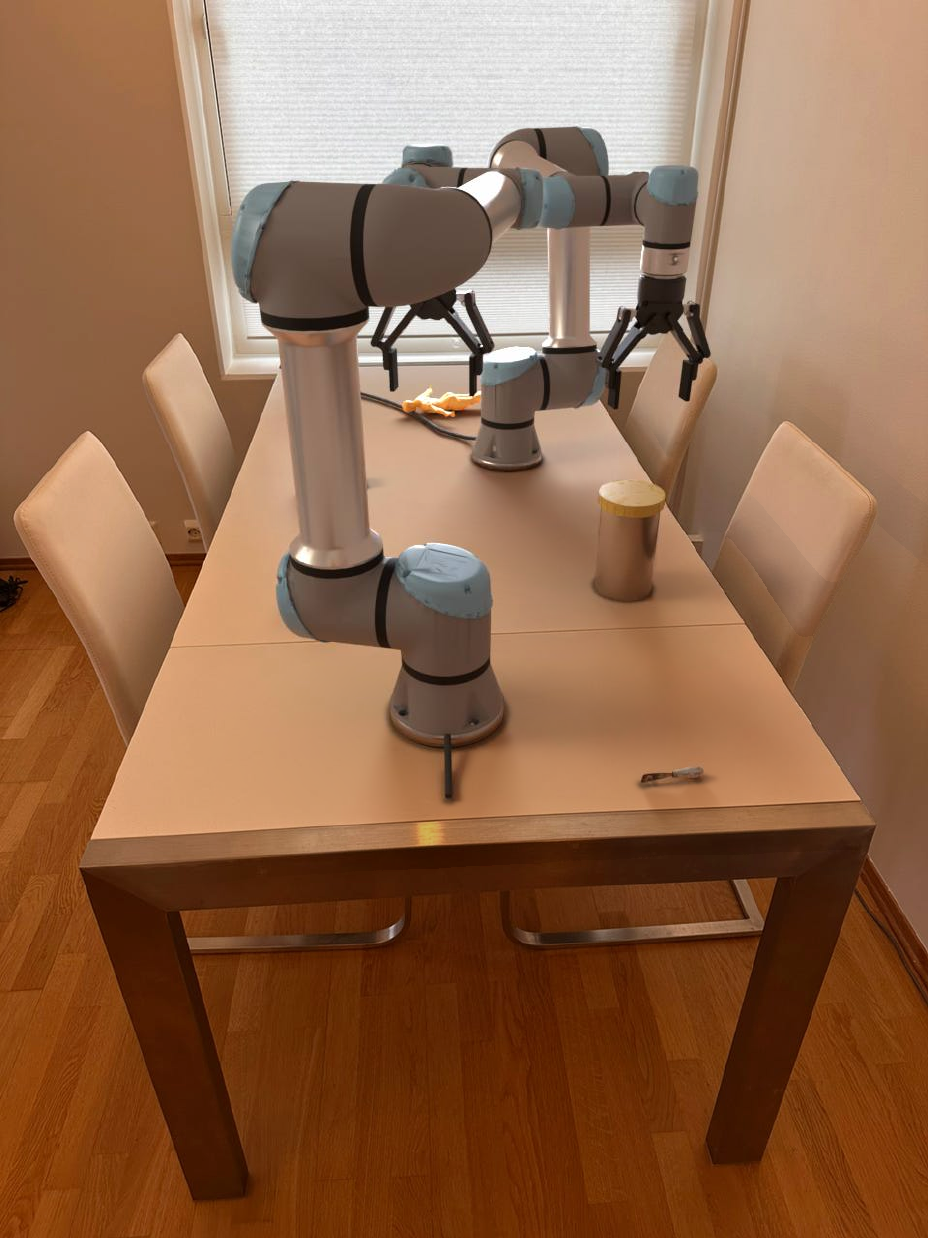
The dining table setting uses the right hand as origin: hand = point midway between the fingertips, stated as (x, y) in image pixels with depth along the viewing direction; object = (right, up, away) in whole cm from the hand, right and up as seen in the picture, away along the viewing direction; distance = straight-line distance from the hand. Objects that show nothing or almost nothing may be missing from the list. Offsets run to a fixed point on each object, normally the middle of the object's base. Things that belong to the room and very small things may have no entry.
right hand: (648, 402), depth 154 cm
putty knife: (-7, -57, -45) cm, 73 cm away
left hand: (-37, +1, -5) cm, 38 cm away
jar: (-5, -32, -5) cm, 33 cm away
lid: (-5, -18, -14) cm, 23 cm away
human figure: (-35, +15, +71) cm, 81 cm away
